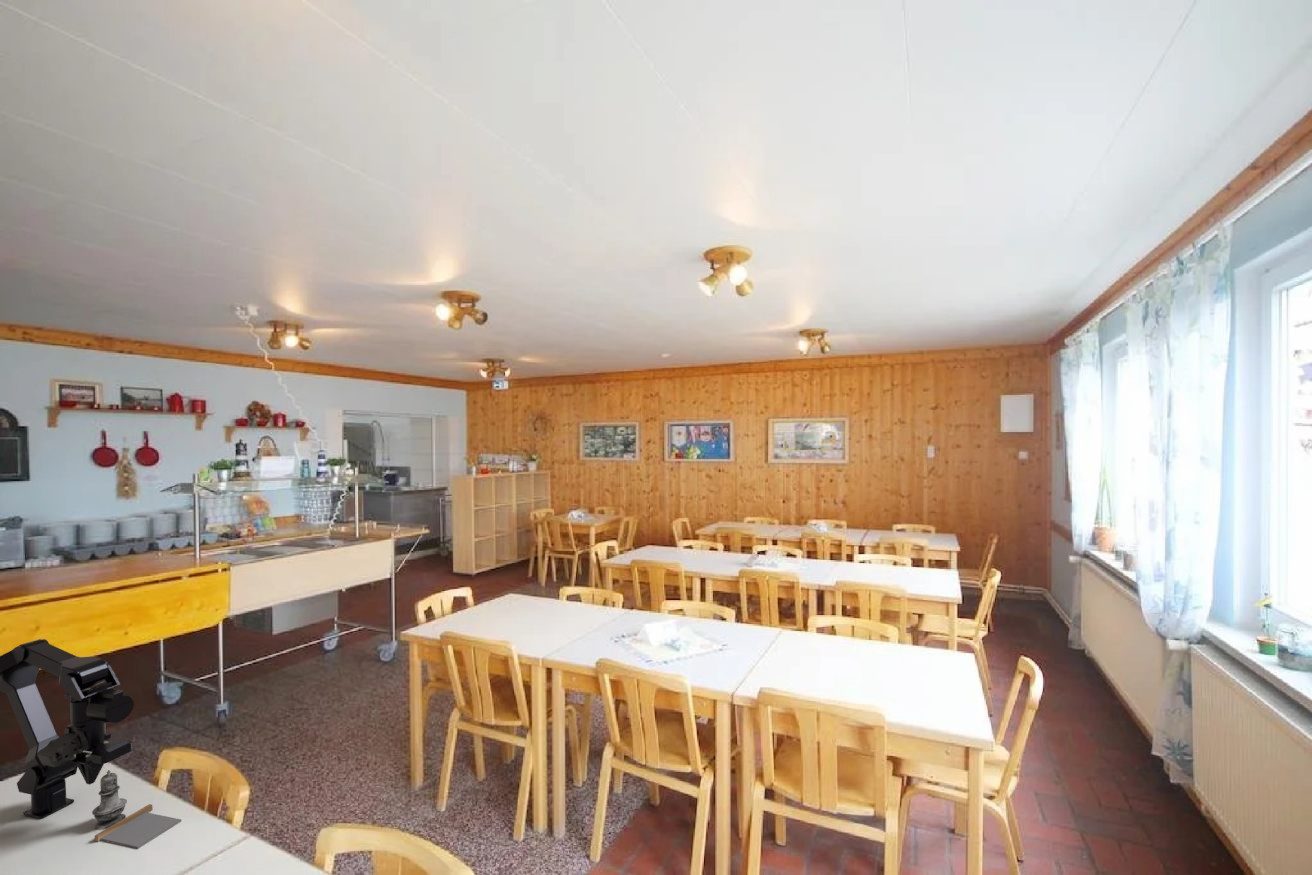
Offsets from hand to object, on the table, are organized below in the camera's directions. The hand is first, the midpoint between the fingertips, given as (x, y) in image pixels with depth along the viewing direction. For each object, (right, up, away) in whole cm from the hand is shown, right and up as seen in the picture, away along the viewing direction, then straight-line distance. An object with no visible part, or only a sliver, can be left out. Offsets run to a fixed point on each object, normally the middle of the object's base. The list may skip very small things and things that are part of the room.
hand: (90, 783), depth 137 cm
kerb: (+10, -8, -2) cm, 13 cm away
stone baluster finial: (+6, -8, -1) cm, 10 cm away
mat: (+16, -8, -5) cm, 18 cm away
